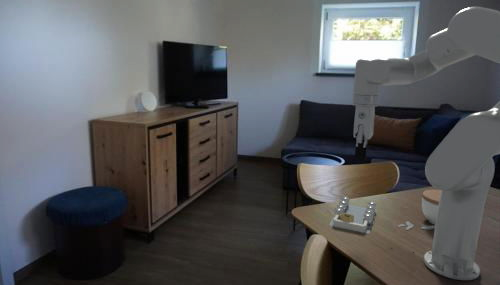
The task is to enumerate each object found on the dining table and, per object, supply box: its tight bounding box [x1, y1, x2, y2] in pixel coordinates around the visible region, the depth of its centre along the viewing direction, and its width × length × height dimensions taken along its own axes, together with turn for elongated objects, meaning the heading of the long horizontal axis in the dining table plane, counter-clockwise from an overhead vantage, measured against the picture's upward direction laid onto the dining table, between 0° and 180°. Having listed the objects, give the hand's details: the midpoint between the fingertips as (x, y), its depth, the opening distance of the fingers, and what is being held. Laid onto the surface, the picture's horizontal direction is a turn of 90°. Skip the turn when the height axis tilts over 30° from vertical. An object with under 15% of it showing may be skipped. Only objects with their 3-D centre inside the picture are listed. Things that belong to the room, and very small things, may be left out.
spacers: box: [333, 196, 377, 226], centre depth 120 cm, size 14×12×3 cm
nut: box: [340, 213, 354, 223], centre depth 113 cm, size 4×4×3 cm
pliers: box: [396, 221, 435, 231], centre depth 116 cm, size 10×2×15 cm
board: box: [328, 204, 377, 235], centre depth 118 cm, size 20×12×3 cm, turn 155°
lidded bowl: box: [421, 189, 442, 225], centre depth 118 cm, size 13×13×11 cm
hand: (360, 158), depth 114 cm, fingers closed
